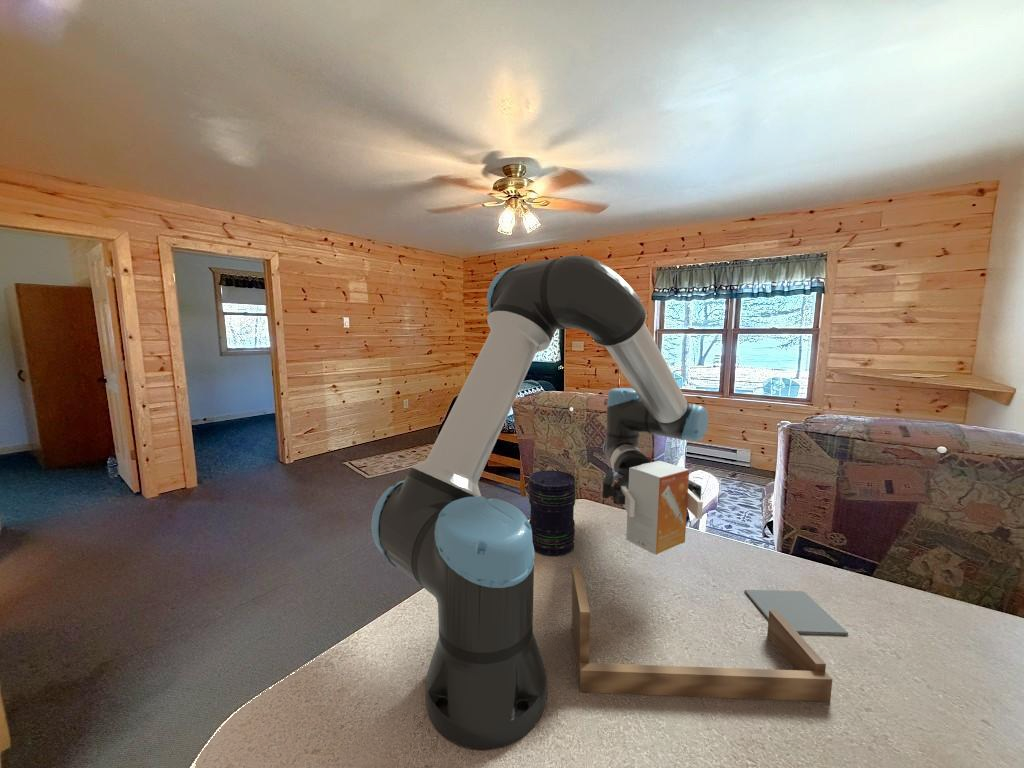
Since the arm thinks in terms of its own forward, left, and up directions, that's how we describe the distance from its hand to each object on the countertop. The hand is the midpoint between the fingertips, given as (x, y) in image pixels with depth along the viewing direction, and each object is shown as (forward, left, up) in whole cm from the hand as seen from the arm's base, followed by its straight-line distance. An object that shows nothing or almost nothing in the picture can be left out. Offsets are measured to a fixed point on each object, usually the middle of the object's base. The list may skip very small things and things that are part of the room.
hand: (665, 509), depth 65 cm
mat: (+21, 0, -17) cm, 27 cm away
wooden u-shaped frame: (0, -10, -17) cm, 20 cm away
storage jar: (-17, +20, -17) cm, 32 cm away
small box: (0, +4, -8) cm, 9 cm away
